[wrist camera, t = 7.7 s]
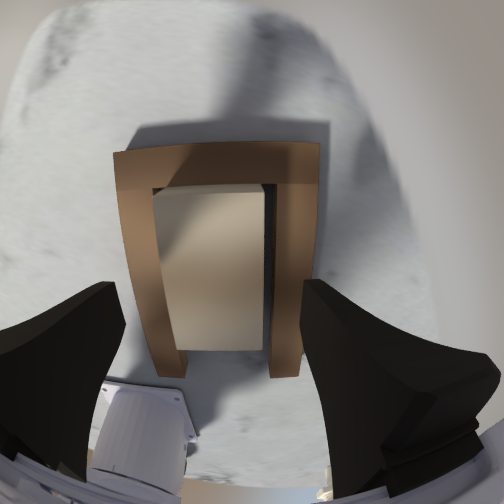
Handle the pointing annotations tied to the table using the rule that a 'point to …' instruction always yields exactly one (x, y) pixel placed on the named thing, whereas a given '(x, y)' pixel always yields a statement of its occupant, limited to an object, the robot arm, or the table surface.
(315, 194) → the brown frame section
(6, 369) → the robot arm
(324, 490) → the pipe fitting
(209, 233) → the beige rectangular block
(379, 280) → the table surface
